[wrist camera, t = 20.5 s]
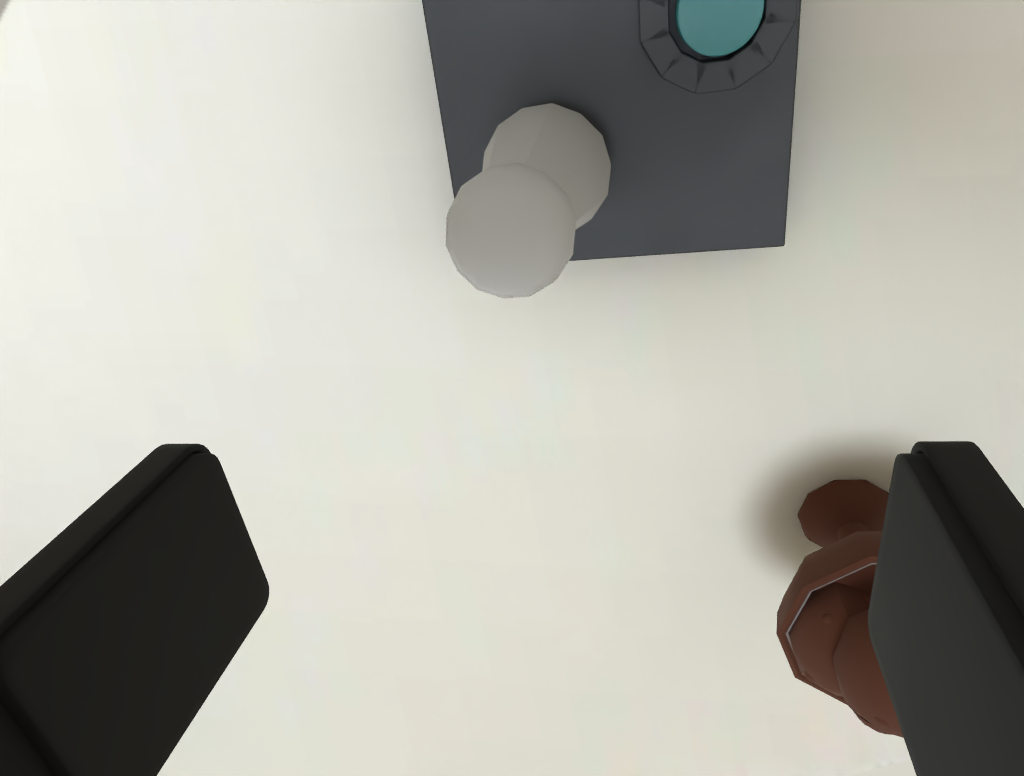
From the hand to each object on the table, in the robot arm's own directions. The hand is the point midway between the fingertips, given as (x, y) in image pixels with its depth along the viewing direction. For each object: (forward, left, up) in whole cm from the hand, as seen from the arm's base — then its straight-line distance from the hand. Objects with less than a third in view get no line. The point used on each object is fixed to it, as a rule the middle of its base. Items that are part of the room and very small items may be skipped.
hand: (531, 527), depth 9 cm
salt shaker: (+3, 0, -26) cm, 26 cm away
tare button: (-5, -6, -25) cm, 26 cm away
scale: (0, -2, -28) cm, 28 cm away
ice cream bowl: (-13, +23, -28) cm, 39 cm away
